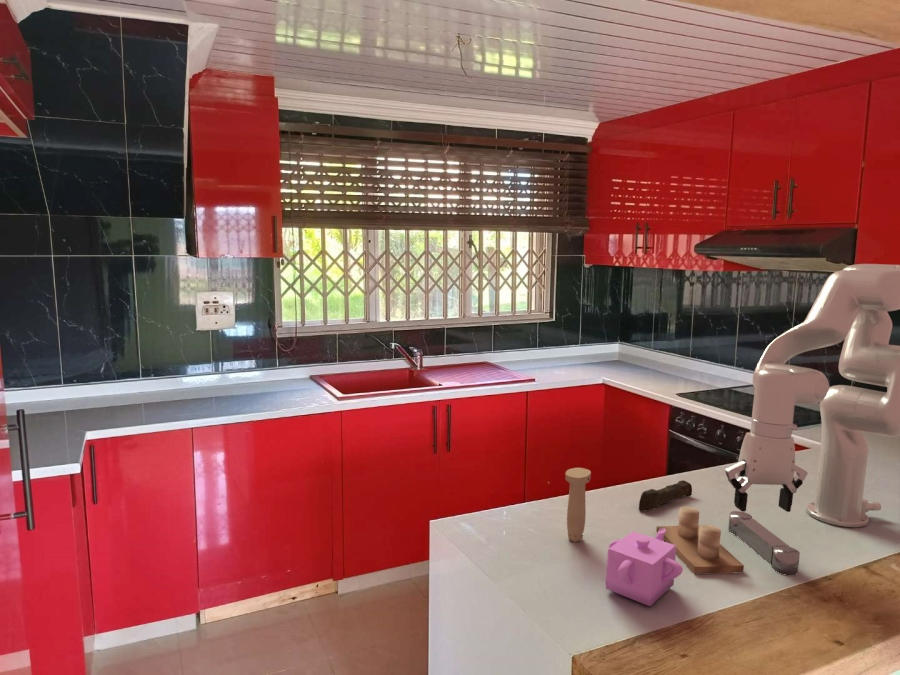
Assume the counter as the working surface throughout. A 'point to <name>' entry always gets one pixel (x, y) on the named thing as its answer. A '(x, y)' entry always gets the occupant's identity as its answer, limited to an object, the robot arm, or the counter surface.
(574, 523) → the handle
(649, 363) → the counter surface
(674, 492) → the dark fuzzy dog bone
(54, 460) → the counter surface
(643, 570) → the teapot
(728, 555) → the tool rest
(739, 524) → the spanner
